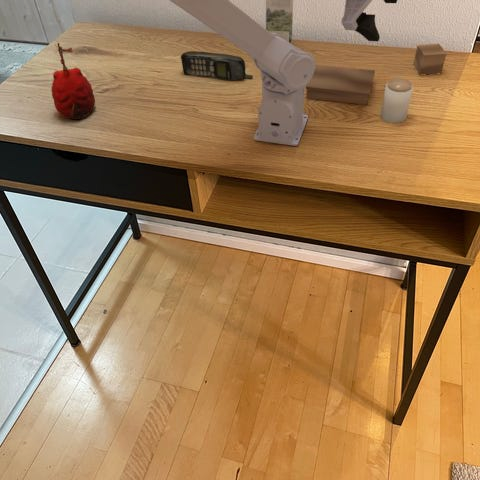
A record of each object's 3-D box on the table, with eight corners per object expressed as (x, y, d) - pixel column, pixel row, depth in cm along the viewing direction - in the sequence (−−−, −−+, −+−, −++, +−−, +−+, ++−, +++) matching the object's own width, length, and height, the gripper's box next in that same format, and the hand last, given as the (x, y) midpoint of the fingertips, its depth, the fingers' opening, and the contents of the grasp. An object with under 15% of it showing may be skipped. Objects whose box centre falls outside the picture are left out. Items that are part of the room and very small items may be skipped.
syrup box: (292, 42, 115) (294, -26, 105) (291, 55, 111) (293, -15, 101) (267, 43, 116) (266, -25, 105) (265, 55, 112) (264, -15, 101)
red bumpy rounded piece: (94, 99, 102) (73, 25, 91) (100, 116, 97) (79, 40, 87) (56, 108, 100) (30, 33, 90) (61, 126, 96) (34, 50, 85)
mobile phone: (178, 55, 104) (248, 60, 100) (184, 48, 106) (252, 53, 102) (182, 77, 107) (250, 83, 103) (187, 70, 109) (254, 76, 105)
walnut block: (440, 74, 103) (446, 53, 99) (419, 75, 103) (424, 55, 99) (434, 64, 106) (439, 43, 103) (413, 65, 106) (417, 45, 103)
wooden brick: (367, 105, 96) (369, 93, 94) (305, 98, 98) (305, 86, 97) (373, 82, 102) (375, 70, 100) (314, 76, 104) (314, 64, 103)
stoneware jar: (405, 124, 91) (412, 91, 86) (379, 121, 92) (385, 88, 87) (407, 110, 94) (414, 78, 89) (382, 107, 95) (387, 75, 90)
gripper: (357, 4, 76) (386, 58, 87) (397, -79, 77) (420, -16, 87) (319, 4, 80) (351, 55, 91) (357, -75, 81) (384, -15, 92)
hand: (382, 20), depth 90 cm, fingers open, 7 cm apart
